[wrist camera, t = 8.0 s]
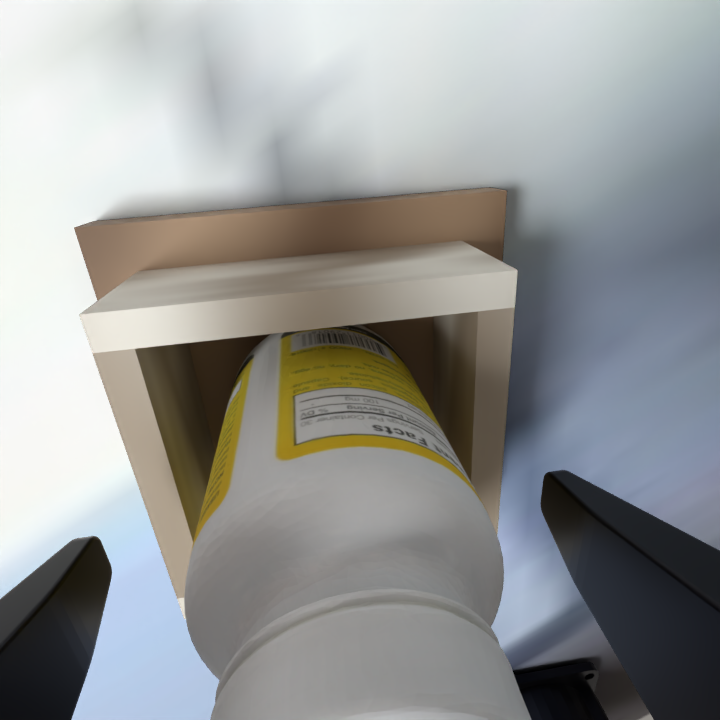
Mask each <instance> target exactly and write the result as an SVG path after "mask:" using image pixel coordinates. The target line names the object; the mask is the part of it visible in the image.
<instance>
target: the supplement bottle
mask: <svg viewBox="0 0 720 720" xmlns="http://www.w3.org/2000/svg"><path fill="white" fill-rule="evenodd" d="M503 582H504V568H503V557H502V552H501V547H500V543H499V540H498V537H497V534H496V531H495V529H494V527H493V524H492V522H491V520H490V518H489V515H488V513H487V511H486V509H485V507H484V505H483V503H482V501H481V499H480V498H479V496H478V494H477V492H476V490H475V488H474V486H473V485H472V483H471V482H470V480H469V478H468V476H467V474H466V472H465V471H464V469H463V467H462V465H461V463H460V462H459V460H458V458H457V456H456V454H455V452H454V451H453V449H452V447H451V445H450V443H449V441H448V440H447V438H446V436H445V434H444V432H443V431H442V429H441V427H440V425H439V423H438V421H437V420H436V418H435V416H434V414H433V413H432V411H431V409H430V407H429V405H428V403H427V402H426V400H425V398H424V396H423V395H422V393H421V391H420V389H419V387H418V386H417V384H416V382H415V380H414V378H413V376H412V375H411V373H410V371H409V369H408V368H407V366H406V364H405V363H404V361H403V360H402V359H401V357H400V356H399V354H398V353H397V352H396V351H395V350H394V348H393V347H392V346H391V345H390V344H389V343H388V342H387V341H386V340H385V339H383V338H382V337H381V336H379V335H378V334H376V333H375V332H373V331H372V330H370V329H368V328H366V327H364V326H361V325H359V324H357V325H348V326H339V327H330V328H321V329H311V330H302V331H293V332H284V333H275V334H270V335H269V336H268V337H266V338H265V339H264V340H262V341H261V342H260V343H259V344H258V345H257V346H256V347H255V348H254V349H253V350H252V351H251V352H250V353H249V354H248V356H247V357H246V359H245V360H244V362H243V363H242V365H241V367H240V369H239V371H238V373H237V375H236V378H235V381H234V384H233V387H232V390H231V393H230V397H229V401H228V405H227V409H226V413H225V418H224V422H223V425H222V429H221V433H220V437H219V441H218V445H217V449H216V453H215V457H214V461H213V465H212V470H211V474H210V478H209V482H208V485H207V489H206V493H205V497H204V501H203V505H202V509H201V513H200V518H199V521H198V525H197V528H196V533H195V537H194V542H193V546H192V551H191V556H190V561H189V566H188V571H187V576H186V583H185V594H184V606H185V617H186V622H187V627H188V631H189V634H190V637H191V640H192V642H193V644H194V646H195V648H196V650H197V652H198V654H199V656H200V657H201V659H202V660H203V662H204V663H205V664H206V666H207V667H208V668H209V670H210V671H211V672H212V673H213V674H214V675H215V676H216V677H217V678H218V679H219V680H220V681H219V684H218V687H217V691H216V698H215V706H214V709H213V711H212V715H211V720H531V717H530V715H529V712H528V710H527V707H526V705H525V702H524V700H523V697H522V695H521V693H520V690H519V687H518V685H517V682H516V679H515V676H514V673H513V671H512V668H511V665H510V663H509V661H508V659H507V657H506V655H505V654H504V652H503V650H502V649H501V647H500V645H499V642H498V639H497V637H496V635H495V634H494V632H493V630H492V628H491V625H492V623H493V622H494V619H495V617H496V614H497V611H498V608H499V604H500V601H501V596H502V590H503Z"/></svg>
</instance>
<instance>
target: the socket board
mask: <svg viewBox="0 0 720 720" xmlns="http://www.w3.org/2000/svg"><path fill="white" fill-rule="evenodd" d="M506 197H507V190H501V189H496V188H490V187H489V188H477V189H466V190H454V191H442V192H430V193H419V194H407V195H395V196H383V197H372V198H360V199H348V200H337V201H325V202H313V203H301V204H290V205H278V206H266V207H254V208H243V209H231V210H219V211H207V212H196V213H184V214H172V215H160V216H149V217H137V218H125V219H113V220H102V221H93V222H90V223H87V224H84V225H81V226H78V227H75V228H74V229H75V232H76V235H77V238H78V242H79V245H80V248H81V251H82V254H83V257H84V260H85V263H86V266H87V269H88V272H89V276H90V279H91V282H92V285H93V288H94V291H95V294H96V297H97V300H98V301H97V302H96V303H94V304H93V305H91V306H90V307H89V308H87V309H86V310H85V311H83V312H82V313H81V314H79V316H80V318H81V321H82V324H83V327H84V330H85V333H86V336H87V339H88V342H89V345H90V347H91V350H92V353H93V356H94V359H95V362H96V365H97V368H98V371H99V373H100V376H101V379H102V382H103V385H104V388H105V391H106V394H107V397H108V400H109V402H110V405H111V408H112V411H113V414H114V417H115V420H116V423H117V426H118V428H119V431H120V434H121V437H122V440H123V443H124V446H125V449H126V452H127V455H128V457H129V460H130V463H131V466H132V469H133V472H134V475H135V478H136V481H137V483H138V486H139V489H140V492H141V495H142V498H143V501H144V504H145V507H146V510H147V512H148V515H149V518H150V521H151V524H152V527H153V530H154V533H155V536H156V538H157V541H158V544H159V547H160V550H161V553H162V556H163V559H164V562H165V564H166V567H167V570H168V573H169V576H170V579H171V582H172V585H173V588H174V591H175V593H176V596H177V599H178V602H179V605H180V608H181V611H182V614H183V617H184V619H186V617H185V606H184V594H185V583H186V576H187V571H188V566H189V561H190V556H191V551H192V546H193V542H194V537H195V533H196V528H197V525H198V521H199V518H200V513H201V509H202V505H203V501H204V497H205V493H206V489H207V485H208V482H209V478H210V474H211V470H212V465H213V461H214V457H215V453H216V449H217V445H218V441H219V437H220V433H221V429H222V425H223V422H224V418H225V413H226V409H227V405H228V401H229V397H230V393H231V390H232V387H233V384H234V381H235V378H236V375H237V373H238V371H239V369H240V367H241V365H242V363H243V362H244V360H245V359H246V357H247V356H248V354H249V353H250V352H251V351H252V350H253V349H254V348H255V347H256V346H257V345H258V344H259V343H260V342H261V341H262V340H264V339H265V338H266V337H268V336H269V335H270V334H275V333H284V332H293V331H302V330H311V329H321V328H330V327H339V326H348V325H357V324H359V325H361V326H364V327H366V328H368V329H370V330H372V331H373V332H375V333H376V334H378V335H379V336H381V337H382V338H383V339H385V340H386V341H387V342H388V343H389V344H390V345H391V346H392V347H393V348H394V350H395V351H396V352H397V353H398V354H399V356H400V357H401V359H402V360H403V361H404V363H405V364H406V366H407V368H408V369H409V371H410V373H411V375H412V376H413V378H414V380H415V382H416V384H417V386H418V387H419V389H420V391H421V393H422V395H423V396H424V398H425V400H426V402H427V403H428V405H429V407H430V409H431V411H432V413H433V414H434V416H435V418H436V420H437V421H438V423H439V425H440V427H441V429H442V431H443V432H444V434H445V436H446V438H447V440H448V441H449V443H450V445H451V447H452V449H453V451H454V452H455V454H456V456H457V458H458V460H459V462H460V463H461V465H462V467H463V469H464V471H465V472H466V474H467V476H468V478H469V480H470V482H471V483H472V485H473V486H474V488H475V490H476V492H477V494H478V496H479V498H480V499H481V501H482V503H483V505H484V507H485V509H486V511H487V513H488V515H489V518H490V520H491V522H492V524H493V527H494V529H495V531H496V534H497V532H498V519H499V506H500V493H501V480H502V467H503V454H504V441H505V428H506V416H507V403H508V390H509V377H510V364H511V351H512V338H513V325H514V312H515V299H516V286H517V273H518V270H517V269H515V268H513V267H511V266H509V265H507V264H505V263H503V262H502V261H503V245H504V229H505V213H506Z"/></svg>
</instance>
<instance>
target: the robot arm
mask: <svg viewBox="0 0 720 720" xmlns="http://www.w3.org/2000/svg"><path fill="white" fill-rule="evenodd" d="M541 510H542V513H543V516H544V518H545V520H546V522H547V524H548V527H549V529H550V531H551V533H552V535H553V538H554V540H555V542H556V544H557V546H558V549H559V551H560V553H561V555H562V557H563V560H564V562H565V564H566V566H567V568H568V571H569V573H570V575H571V577H572V579H573V581H574V583H575V585H576V587H577V588H578V590H579V592H580V594H581V596H582V597H583V599H584V601H585V602H586V604H587V606H588V608H589V609H590V611H591V613H592V614H593V616H594V618H595V620H596V621H597V623H598V625H599V626H600V628H601V630H602V632H603V633H604V635H605V637H606V638H607V640H608V642H609V644H610V645H611V647H612V649H613V650H614V652H615V654H616V656H617V657H618V659H619V661H620V662H621V664H622V666H623V668H624V669H625V671H626V673H627V674H628V676H629V678H630V680H631V681H632V683H633V685H634V686H635V688H636V690H637V692H638V693H639V695H640V697H641V698H642V700H643V702H644V704H645V705H646V707H647V709H648V710H649V712H650V714H651V715H652V717H653V719H654V720H720V551H719V550H718V549H716V548H714V547H712V546H710V545H708V544H706V543H704V542H702V541H700V540H698V539H697V538H695V537H693V536H691V535H689V534H687V533H685V532H683V531H681V530H679V529H678V528H676V527H674V526H672V525H670V524H668V523H666V522H664V521H662V520H660V519H658V518H657V517H655V516H653V515H651V514H649V513H647V512H645V511H643V510H641V509H639V508H637V507H636V506H634V505H632V504H630V503H628V502H626V501H624V500H622V499H620V498H618V497H616V496H615V495H613V494H611V493H609V492H607V491H605V490H603V489H601V488H599V487H597V486H595V485H594V484H592V483H590V482H588V481H586V480H584V479H582V478H580V477H578V476H576V475H574V474H573V473H571V472H569V471H566V470H559V471H552V472H548V473H546V474H545V476H544V480H543V487H542V495H541ZM111 576H112V569H111V565H110V562H109V560H108V557H107V555H106V552H105V550H104V548H103V545H102V543H101V541H100V539H99V538H98V537H96V536H90V537H83V538H77V539H74V540H72V541H70V542H69V543H68V544H67V545H65V546H64V547H63V548H62V549H61V550H59V551H58V552H57V553H56V554H54V555H53V556H52V557H51V558H50V559H48V560H47V561H46V562H45V563H44V564H42V565H41V566H40V567H39V568H37V569H36V570H35V571H34V572H33V573H31V574H30V575H29V576H28V577H27V578H25V579H24V580H23V581H22V582H20V583H19V584H18V585H17V586H16V587H14V588H13V589H12V590H11V591H9V592H8V593H7V594H6V595H5V596H3V597H2V598H1V599H0V720H71V719H72V716H73V713H74V710H75V707H76V704H77V702H78V699H79V696H80V693H81V690H82V687H83V684H84V681H85V678H86V676H87V672H88V669H89V666H90V663H91V660H92V656H93V652H94V649H95V645H96V640H97V636H98V632H99V628H100V624H101V619H102V615H103V611H104V607H105V603H106V598H107V594H108V590H109V586H110V582H111ZM514 676H515V679H516V682H517V685H518V687H519V690H520V693H521V695H522V697H523V700H524V702H525V705H526V707H527V710H528V712H529V715H530V717H531V720H609V719H608V717H607V715H606V714H605V712H604V710H603V708H602V706H601V705H600V703H599V701H598V699H597V697H596V695H595V694H594V693H595V688H596V684H597V680H598V676H599V672H598V671H597V669H596V667H595V665H594V664H593V663H591V662H586V663H580V664H575V665H569V666H564V667H558V668H552V669H547V670H541V671H536V672H530V673H525V674H519V675H514Z"/></svg>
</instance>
